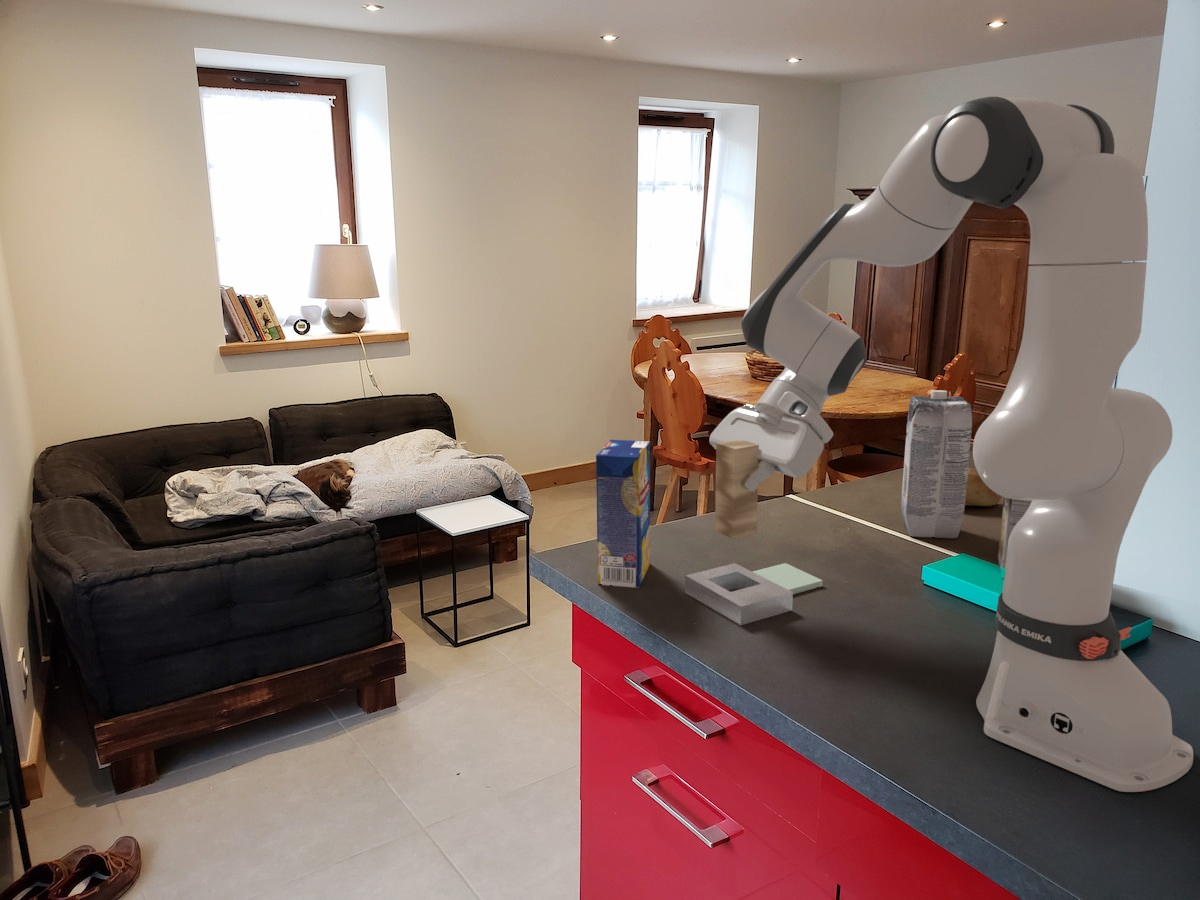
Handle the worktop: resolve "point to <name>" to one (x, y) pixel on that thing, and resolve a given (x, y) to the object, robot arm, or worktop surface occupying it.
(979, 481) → the bread roll
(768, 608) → the grey square socket plate
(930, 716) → the worktop surface
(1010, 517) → the coffee box
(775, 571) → the pad
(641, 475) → the beverage box
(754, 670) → the worktop surface
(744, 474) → the oak peg
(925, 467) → the juice carton
